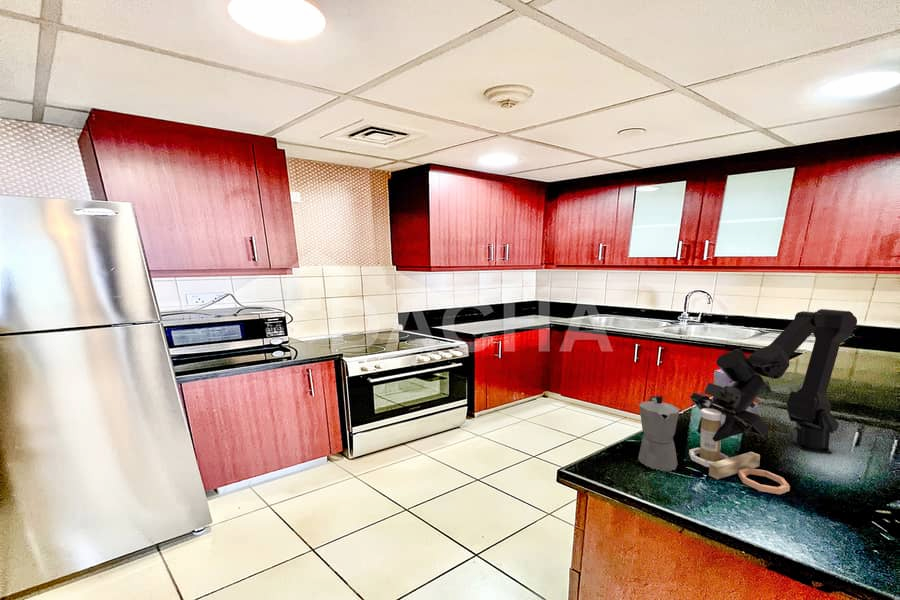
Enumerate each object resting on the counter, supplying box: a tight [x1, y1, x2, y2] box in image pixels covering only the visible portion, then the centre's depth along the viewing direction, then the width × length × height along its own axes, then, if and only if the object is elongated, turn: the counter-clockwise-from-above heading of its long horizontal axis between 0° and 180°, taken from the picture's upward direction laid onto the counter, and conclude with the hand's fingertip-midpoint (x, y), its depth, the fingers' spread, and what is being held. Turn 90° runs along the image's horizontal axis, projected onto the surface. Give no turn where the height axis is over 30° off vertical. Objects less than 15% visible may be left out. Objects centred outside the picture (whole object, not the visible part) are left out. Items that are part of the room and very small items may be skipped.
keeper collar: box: [737, 468, 791, 495], centre depth 89 cm, size 9×9×1 cm
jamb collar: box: [688, 447, 730, 468], centre depth 99 cm, size 9×9×1 cm
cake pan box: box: [712, 369, 761, 426], centre depth 125 cm, size 19×5×18 cm, turn 114°
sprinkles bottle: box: [699, 408, 722, 462], centre depth 99 cm, size 5×5×13 cm
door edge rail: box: [708, 451, 761, 480], centre depth 94 cm, size 16×2×3 cm, turn 111°
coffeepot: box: [637, 395, 681, 472], centre depth 99 cm, size 15×9×18 cm, turn 162°
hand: (706, 436), depth 99 cm, fingers closed on sprinkles bottle, 4 cm apart
